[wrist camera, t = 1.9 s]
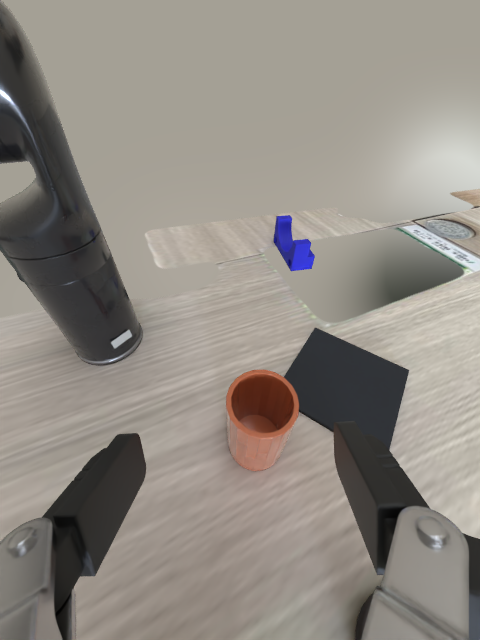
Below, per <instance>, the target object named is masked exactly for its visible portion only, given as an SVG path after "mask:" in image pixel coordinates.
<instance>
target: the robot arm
mask: <svg viewBox="0 0 480 640" xmlns="http://www.w3.org/2000/svg"><path fill="white" fill-rule="evenodd" d="M23 161H29V162H30V164H31V165H32V167H33V168H34V171H35V174H36V178H35V180H34V181H33V182H32V183H31V184H30V185H29V186H28V187H27V188H26V189H25V190H23V191H22V192H20V193H18V194H16V195H15V196H13V197H11V198H9V199H7V200H5V201H4V202H2V203H0V251H1V252H2V253H3V255H4V256H5V257H6V258H7V260H8V261H9V263H10V264H11V265H12V267H13V268H14V269H15V271H16V272H17V275H18V277H19V279H20V280H21V281H23V282H25V284H26V285H27V286H28V288H29V289H30V290H31V292H32V293H33V294H34V296H35V297H36V298H37V300H38V301H39V302H40V303H41V305H42V306H43V308H44V309H45V310H46V312H47V313H48V314H49V316H50V317H51V318H52V320H53V321H54V322H55V324H56V325H57V326H58V328H59V329H60V330H61V332H62V333H63V334H64V336H65V337H66V338H67V340H68V341H69V342H70V344H71V345H72V346H73V348H74V349H75V351H76V353H77V355H78V356H79V357H80V358H81V359H82V360H83V361H84V362H86V363H89V364H94V365H105V364H110V363H114V362H117V361H119V360H121V359H123V358H125V357H126V356H128V355H129V354H131V353H132V352H133V351H134V350H135V349H136V348H137V346H138V345H139V343H140V341H141V339H142V328H141V326H140V323H139V322H138V320H137V318H136V315H135V313H134V310H133V307H132V305H131V302H130V300H129V297H128V295H127V292H126V290H125V287H124V285H123V282H122V280H121V277H120V275H119V272H118V270H117V267H116V264H115V262H114V260H113V257H112V255H111V252H110V249H109V247H108V245H107V242H106V240H105V237H104V235H103V232H102V230H101V227H100V225H99V222H98V220H97V217H96V215H95V213H94V210H93V208H92V205H91V203H90V201H89V198H88V195H87V193H86V191H85V188H84V186H83V183H82V180H81V178H80V175H79V173H78V170H77V168H76V165H75V162H74V159H73V156H72V154H71V151H70V148H69V145H68V142H67V139H66V136H65V134H64V130H63V127H62V124H61V121H60V118H59V115H58V113H57V110H56V107H55V104H54V101H53V98H52V95H51V92H50V89H49V87H48V84H47V81H46V79H45V76H44V73H43V71H42V68H41V66H40V63H39V61H38V59H37V57H36V54H35V52H34V50H33V48H32V45H31V43H30V41H29V39H28V37H27V36H26V34H25V32H24V30H23V28H22V27H21V25H20V23H19V22H18V21H17V19H16V18H15V16H14V15H13V13H12V12H11V11H10V9H9V8H8V7H7V6H6V5H5V4H4V3H3V2H2V1H1V0H0V164H1V163H13V162H23ZM334 455H335V463H336V468H337V471H338V475H339V477H340V480H341V482H342V485H343V488H344V490H345V493H346V495H347V498H348V500H349V503H350V506H351V508H352V511H353V513H354V516H355V519H356V521H357V524H358V526H359V529H360V531H361V534H362V537H363V539H364V542H365V544H366V547H367V550H368V552H369V555H370V557H371V560H372V562H373V565H374V568H375V570H376V573H377V575H384V576H383V580H382V583H381V586H380V587H379V586H377V587H376V589H375V591H374V594H373V598H372V601H371V605H370V609H369V612H368V616H367V620H366V623H365V627H364V631H363V635H362V638H361V640H480V539H478V538H474V537H471V536H468V535H466V534H463V533H462V532H461V531H460V530H459V529H458V527H457V526H456V525H455V524H454V523H452V522H451V521H450V520H449V519H448V518H446V517H445V516H443V515H442V514H440V513H438V512H436V511H434V510H431V509H430V508H429V506H428V505H427V503H426V502H425V501H424V499H423V498H422V496H421V495H420V493H419V492H418V491H417V489H416V488H415V486H414V485H413V484H412V482H411V481H410V479H409V478H408V476H407V475H406V474H405V472H404V471H403V469H402V468H400V466H399V464H398V462H397V461H396V459H395V458H394V457H393V455H392V454H391V452H390V451H389V449H388V448H387V447H386V445H385V444H384V443H383V442H382V441H380V440H379V439H378V438H376V437H375V436H374V435H372V434H367V435H363V434H362V432H361V430H360V429H359V427H358V425H357V424H356V422H355V421H345V422H334ZM145 474H146V463H145V458H144V454H143V449H142V445H141V440H140V437H139V435H138V434H137V433H132V434H119V435H117V436H116V437H115V438H114V439H113V441H112V442H111V443H110V444H109V446H108V447H107V448H104V449H103V450H101V451H100V452H99V453H97V454H96V455H95V456H93V457H92V458H91V459H90V460H89V462H88V463H87V464H86V465H85V466H84V468H83V469H82V471H80V472H79V474H78V475H77V476H76V477H75V478H74V481H72V482H71V483H70V484H69V485H68V487H67V488H66V489H65V490H64V491H63V493H62V494H61V495H60V496H59V497H58V499H57V500H56V501H55V502H54V503H53V505H52V506H51V507H50V508H49V509H48V511H47V512H46V513H45V514H44V515H43V517H42V518H37V519H33V520H31V521H28V522H26V523H24V524H22V525H21V526H19V527H17V528H16V529H14V530H13V531H12V532H10V533H9V534H8V535H7V536H6V537H5V538H4V539H3V540H2V541H1V542H0V640H76V595H75V590H74V586H75V584H76V582H77V580H78V579H79V577H80V576H95V575H96V573H97V571H98V569H99V567H100V565H101V563H102V561H103V559H104V557H105V555H106V554H107V552H108V550H109V548H110V546H111V544H112V542H113V540H114V538H115V536H116V534H117V532H118V530H119V528H120V526H121V524H122V522H123V520H124V518H125V516H126V514H127V512H128V511H129V509H130V507H131V505H132V503H133V501H134V499H135V497H136V495H137V493H138V491H139V489H140V487H141V485H142V483H143V481H144V478H145Z"/></svg>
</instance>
